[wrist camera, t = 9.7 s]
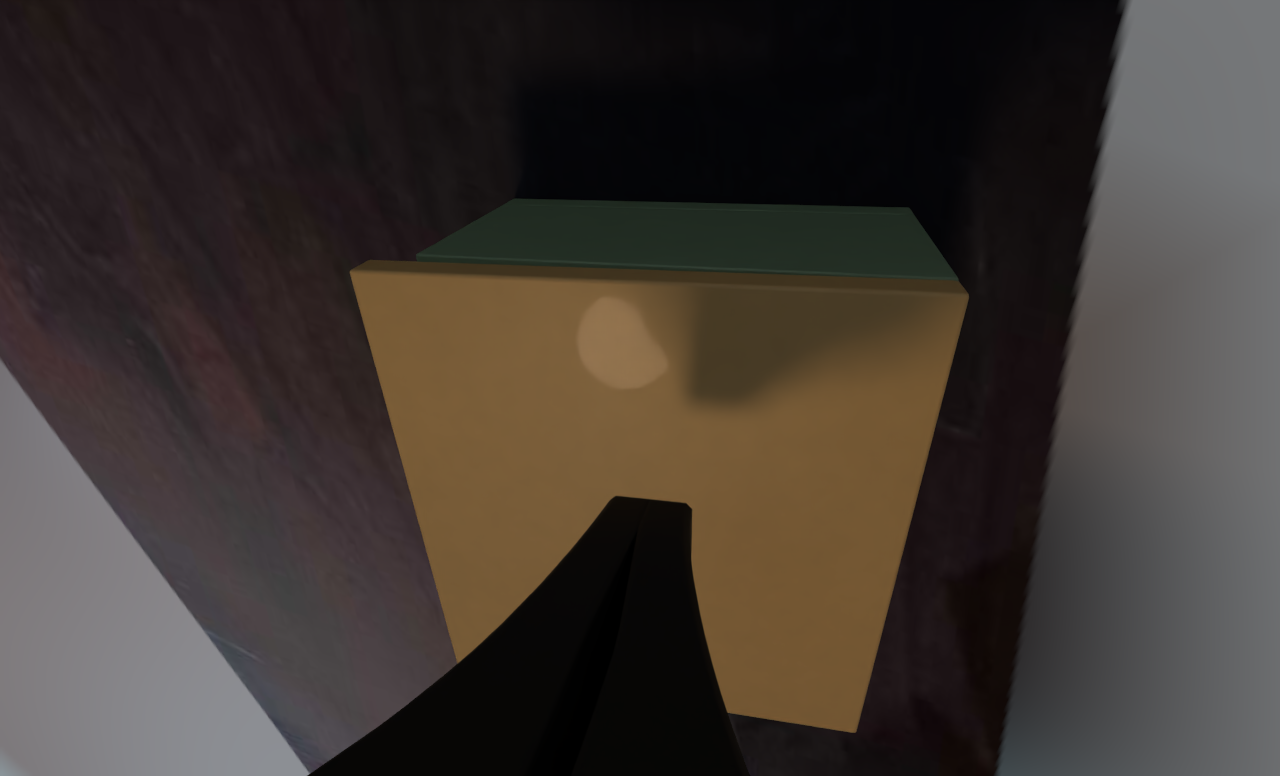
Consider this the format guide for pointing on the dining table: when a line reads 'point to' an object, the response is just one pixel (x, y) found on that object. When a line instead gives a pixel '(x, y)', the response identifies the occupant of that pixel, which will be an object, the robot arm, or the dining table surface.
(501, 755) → the robot arm
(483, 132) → the dining table surface
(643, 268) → the green open cubby
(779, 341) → the yellow box lid
